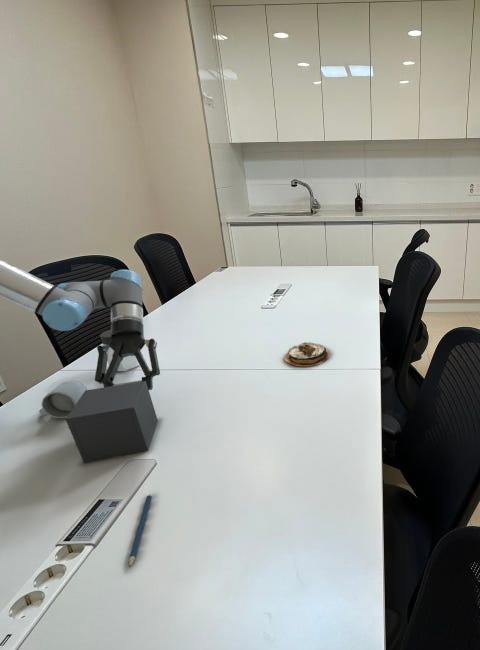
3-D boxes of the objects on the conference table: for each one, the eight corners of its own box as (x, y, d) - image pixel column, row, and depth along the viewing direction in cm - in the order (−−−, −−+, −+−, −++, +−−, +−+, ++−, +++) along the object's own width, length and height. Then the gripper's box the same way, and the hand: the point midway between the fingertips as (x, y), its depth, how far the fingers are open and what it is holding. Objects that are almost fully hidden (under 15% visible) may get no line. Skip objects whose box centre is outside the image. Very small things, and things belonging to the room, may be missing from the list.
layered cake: (339, 354, 130) (338, 343, 128) (304, 371, 120) (303, 359, 118) (310, 342, 139) (309, 332, 137) (275, 357, 129) (274, 346, 127)
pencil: (152, 498, 75) (133, 568, 62) (146, 499, 75) (126, 570, 62) (151, 494, 75) (132, 564, 62) (145, 496, 75) (125, 566, 61)
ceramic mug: (93, 399, 108) (83, 375, 105) (80, 416, 101) (69, 391, 98) (51, 405, 106) (40, 381, 103) (34, 423, 99) (21, 397, 96)
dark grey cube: (101, 431, 95) (85, 390, 90) (158, 420, 98) (145, 380, 94) (83, 463, 85) (65, 419, 80) (148, 450, 88) (133, 407, 83)
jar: (146, 360, 130) (136, 327, 125) (130, 372, 122) (119, 337, 118) (121, 359, 131) (111, 326, 126) (104, 371, 123) (92, 337, 118)
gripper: (171, 324, 112) (175, 401, 104) (92, 333, 106) (91, 415, 99) (163, 313, 105) (167, 394, 97) (78, 323, 100) (76, 410, 92)
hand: (129, 405), depth 98 cm, fingers closed on basket, 7 cm apart
